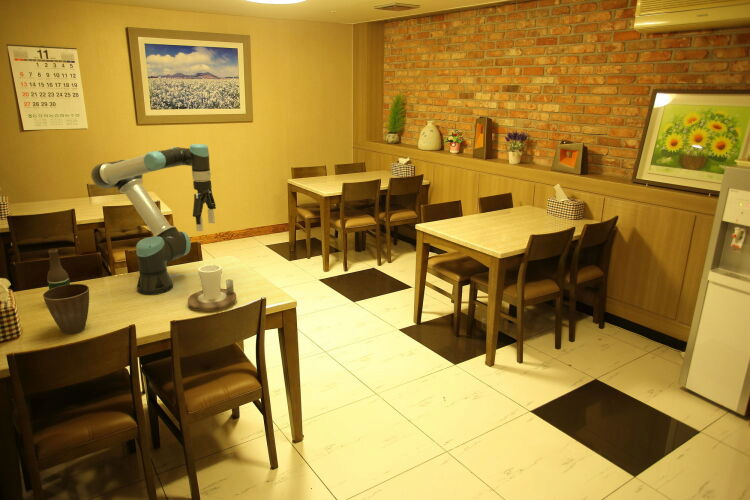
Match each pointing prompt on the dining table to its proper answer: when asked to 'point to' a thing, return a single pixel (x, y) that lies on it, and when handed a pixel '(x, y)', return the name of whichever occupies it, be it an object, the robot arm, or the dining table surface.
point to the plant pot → (68, 306)
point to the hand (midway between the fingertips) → (206, 227)
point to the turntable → (223, 301)
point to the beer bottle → (56, 271)
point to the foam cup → (210, 280)
